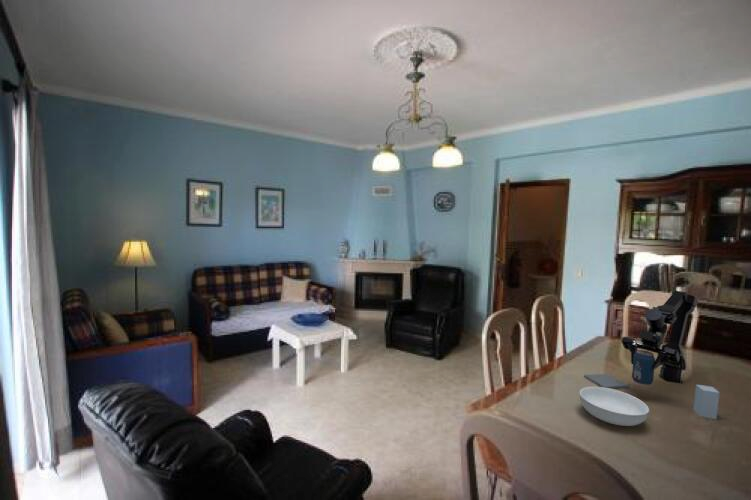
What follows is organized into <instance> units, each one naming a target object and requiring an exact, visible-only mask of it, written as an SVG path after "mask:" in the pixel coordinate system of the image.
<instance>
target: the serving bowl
mask: <svg viewBox="0 0 751 500" xmlns="http://www.w3.org/2000/svg"><path fill="white" fill-rule="evenodd" d="M579 400H580V402H581V405H582V406H583V407H584V409H585V410H586V411H587V412H588V413H589V414H590V415H591V416H593V417H595V418H597V419H599V420H601V421H602V422H606V423H608V424H613V425H616V426H622V427H624V426H625V427H634V426H638V425H640V424H641V423H643V422H645V420H646V419H647V417H648V415H649V413H650V408H649V407H648V405H647V403H645V402H644V401H642V400H641V399H639V398H637V397H635V396H633V394H632V395H631V394H629V393H626V392H623V391H621V390H618V389H610V388H604V387H600V386H585V387H583V388H581V389H580V390H579Z"/></svg>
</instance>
